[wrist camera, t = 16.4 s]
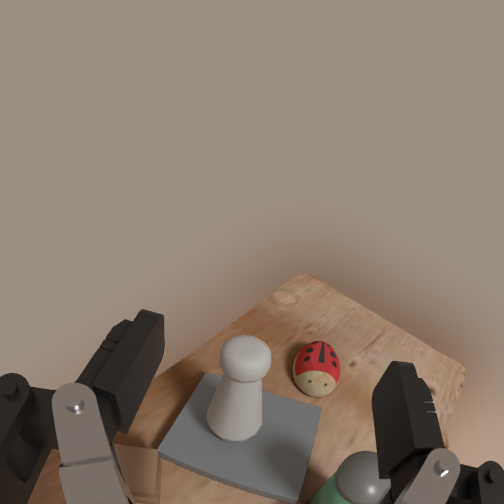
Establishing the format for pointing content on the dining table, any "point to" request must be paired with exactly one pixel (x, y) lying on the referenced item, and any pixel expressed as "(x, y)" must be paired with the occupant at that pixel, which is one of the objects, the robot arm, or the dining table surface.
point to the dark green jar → (354, 482)
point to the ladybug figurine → (316, 369)
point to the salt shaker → (239, 389)
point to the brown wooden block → (141, 472)
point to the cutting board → (246, 445)
